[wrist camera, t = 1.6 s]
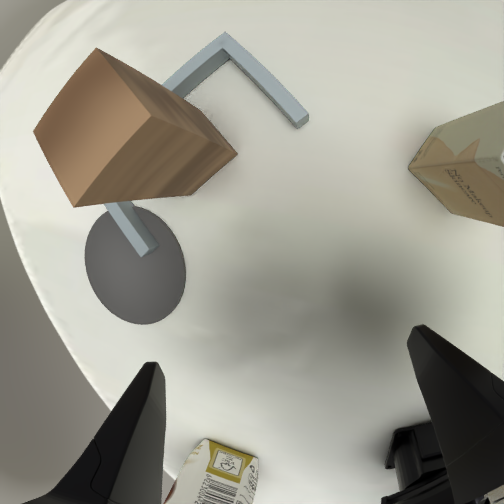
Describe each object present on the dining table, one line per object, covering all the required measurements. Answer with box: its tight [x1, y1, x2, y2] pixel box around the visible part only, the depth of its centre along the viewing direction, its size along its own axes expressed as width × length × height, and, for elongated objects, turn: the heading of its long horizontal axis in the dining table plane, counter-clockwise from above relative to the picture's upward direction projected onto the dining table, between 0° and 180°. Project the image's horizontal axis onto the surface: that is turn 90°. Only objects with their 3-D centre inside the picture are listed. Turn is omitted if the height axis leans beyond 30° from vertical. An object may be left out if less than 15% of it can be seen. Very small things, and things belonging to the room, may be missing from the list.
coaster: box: [85, 206, 186, 325], centre depth 23 cm, size 10×10×1 cm
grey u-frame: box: [104, 32, 309, 257], centre depth 19 cm, size 8×15×2 cm, turn 129°
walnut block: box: [33, 48, 237, 207], centre depth 15 cm, size 4×4×12 cm
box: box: [409, 101, 504, 227], centre depth 12 cm, size 5×4×11 cm
